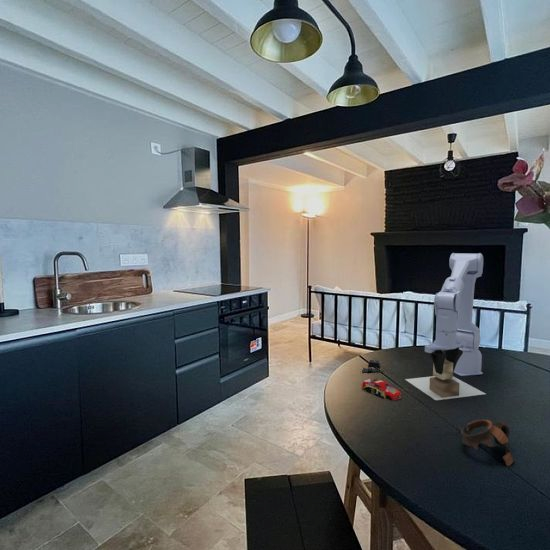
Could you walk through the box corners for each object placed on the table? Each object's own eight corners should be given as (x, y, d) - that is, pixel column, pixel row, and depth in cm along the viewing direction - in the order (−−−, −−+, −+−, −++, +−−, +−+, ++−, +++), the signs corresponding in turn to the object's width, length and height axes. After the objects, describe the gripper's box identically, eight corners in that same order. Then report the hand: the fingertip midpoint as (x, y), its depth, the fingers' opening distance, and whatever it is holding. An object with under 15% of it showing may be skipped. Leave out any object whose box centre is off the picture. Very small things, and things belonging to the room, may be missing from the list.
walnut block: (445, 387, 110) (445, 375, 109) (459, 395, 104) (459, 383, 103) (429, 389, 108) (429, 377, 108) (442, 397, 103) (442, 385, 102)
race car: (405, 399, 104) (405, 387, 103) (395, 404, 100) (395, 392, 100) (369, 385, 114) (369, 374, 114) (359, 389, 111) (359, 378, 110)
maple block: (442, 373, 109) (443, 358, 108) (452, 378, 105) (453, 362, 105) (432, 375, 108) (433, 360, 107) (442, 380, 104) (443, 364, 103)
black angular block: (392, 371, 126) (392, 360, 126) (391, 379, 119) (391, 366, 119) (358, 368, 131) (358, 356, 130) (355, 374, 124) (356, 362, 123)
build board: (449, 375, 120) (449, 374, 120) (486, 395, 105) (486, 393, 105) (404, 380, 117) (404, 379, 117) (435, 401, 101) (435, 399, 101)
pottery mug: (506, 476, 70) (484, 438, 71) (467, 470, 78) (448, 436, 79) (531, 444, 76) (510, 409, 77) (492, 441, 84) (474, 410, 85)
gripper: (453, 325, 110) (452, 364, 112) (418, 329, 106) (416, 370, 107) (472, 330, 104) (470, 372, 105) (435, 334, 99) (433, 378, 100)
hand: (444, 372), depth 106 cm, fingers closed on maple block, 4 cm apart
